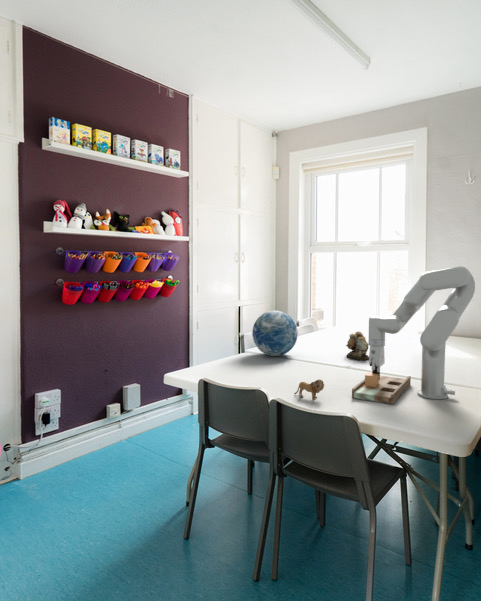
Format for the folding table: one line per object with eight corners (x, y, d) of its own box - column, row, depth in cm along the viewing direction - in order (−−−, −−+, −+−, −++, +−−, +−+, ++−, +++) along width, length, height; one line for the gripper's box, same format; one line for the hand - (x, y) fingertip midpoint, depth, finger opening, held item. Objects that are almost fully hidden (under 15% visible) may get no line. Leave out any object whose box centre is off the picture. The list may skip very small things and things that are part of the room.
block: (378, 384, 206) (378, 374, 206) (375, 387, 202) (375, 376, 202) (368, 383, 209) (368, 372, 208) (364, 385, 205) (365, 375, 204)
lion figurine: (326, 398, 197) (326, 378, 196) (321, 401, 192) (321, 381, 191) (296, 393, 205) (296, 374, 204) (291, 396, 200) (291, 377, 199)
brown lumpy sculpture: (340, 356, 282) (340, 330, 281) (353, 354, 288) (354, 329, 286) (361, 361, 266) (361, 334, 265) (374, 359, 272) (375, 332, 271)
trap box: (410, 385, 214) (410, 376, 214) (393, 404, 186) (393, 394, 185) (373, 380, 224) (373, 371, 224) (351, 398, 196) (352, 388, 195)
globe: (306, 354, 288) (306, 309, 286) (278, 362, 267) (278, 314, 264) (272, 349, 309) (271, 307, 306) (243, 356, 287) (242, 311, 285)
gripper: (380, 345, 199) (379, 384, 201) (389, 340, 212) (388, 377, 213) (363, 344, 203) (363, 382, 205) (373, 339, 216) (372, 375, 217)
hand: (375, 379), depth 209 cm, fingers closed
